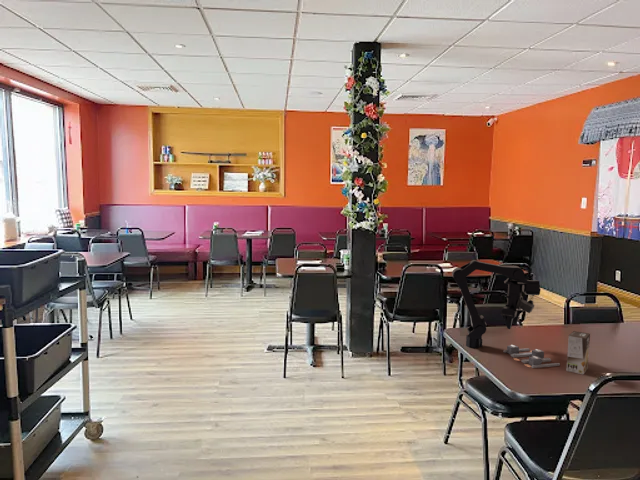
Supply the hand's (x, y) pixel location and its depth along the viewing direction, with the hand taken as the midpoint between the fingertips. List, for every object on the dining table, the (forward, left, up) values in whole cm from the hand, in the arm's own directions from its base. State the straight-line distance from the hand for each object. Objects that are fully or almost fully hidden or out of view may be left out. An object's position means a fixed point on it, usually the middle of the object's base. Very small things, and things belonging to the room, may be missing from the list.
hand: (511, 326), depth 214 cm
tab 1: (-3, -6, -10) cm, 12 cm away
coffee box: (+11, -28, -12) cm, 33 cm away
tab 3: (-3, -21, -10) cm, 23 cm away
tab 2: (+4, -13, -10) cm, 17 cm away
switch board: (0, -13, -12) cm, 18 cm away
